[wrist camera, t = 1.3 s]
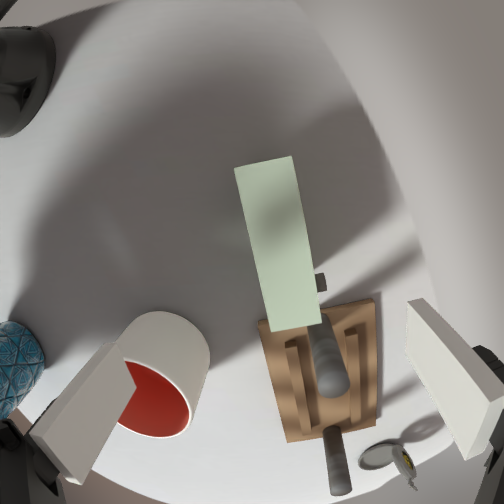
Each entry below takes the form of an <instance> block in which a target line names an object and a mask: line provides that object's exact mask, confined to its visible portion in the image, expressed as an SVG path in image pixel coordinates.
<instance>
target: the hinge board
mask: <svg viewBox="0 0 504 504" xmlns="http://www.w3.org/2000/svg"><path fill="white" fill-rule="evenodd" d="M320 313H321V320H322V323H319V324H314V325H309V326H303V327H298V328H293V329H287V330H281V331H276V332H271V330H270V326H269V321H268V319H266V320H260V321H258V329H259V333H260V338H261V342H262V346H263V350H264V354H265V358H266V362H267V366H268V370H269V374H270V378H271V382H272V385H273V389H274V393H275V397H276V401H277V405H278V409H279V413H280V417H281V421H282V425H283V429H284V432H285V436H286V440H287V443H290V442H297V441H304V440H310V439H316V438H322V437H323V440H324V447H325V455H326V462H327V470H328V477H329V486H330V494H331V495H332V496H343V495H346V494H348V493H350V492H351V491H352V485H351V480H350V475H349V469H348V464H347V459H346V454H345V449H344V444H343V439H342V433H347V432H352V431H356V430H360V429H365V428H369V427H373V426H376V405H377V342H376V318H375V302H374V301H373V299H372V298H371V299H366V300H362V301H357V302H353V303H348V304H344V305H339V306H334V307H329V308H325V309H320Z"/></svg>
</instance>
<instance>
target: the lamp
mask: <svg viewBox="0 0 504 504" xmlns="http://www.w3.org/2000/svg"><path fill="white" fill-rule="evenodd" d="M44 364H45V363H44V356H43V352H42V350H41V347H40V345H39V343H38V342H37V340H36V339H35V337H34V336H33V335H32V333H31V332H30V331H29V330H28V329H27V328H26V327H24V326H23V325H21V324H19V323H17V322H14V321H6V322H2V323H0V420H2V419H6V418H7V417H8V416H9V415H10V414H11V413H12V412H13V411H14V410H15V409H16V407H17V406H18V405H19V404H20V403H21V402H22V400H23V399H24V398H25V397H26V396H27V395H28V393H29V392H30V391H31V390H32V388H33V387H34V386H35V385H36V383H37V382H38V380H39V379H40V377H41V375H42V373H43V371H44Z"/></svg>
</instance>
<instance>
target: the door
mask: <svg viewBox="0 0 504 504" xmlns="http://www.w3.org/2000/svg"><path fill="white" fill-rule="evenodd" d="M234 172H235V177H236V181H237V185H238V190H239V194H240V199H241V203H242V207H243V212H244V216H245V220H246V225H247V229H248V234H249V238H250V242H251V247H252V251H253V255H254V260H255V264H256V269H257V273H258V277H259V282H260V286H261V290H262V295H263V299H264V304H265V308H266V312H267V317H268V321H269V326H270V330H271V332H276V331H281V330H287V329H293V328H298V327H303V326H309V325H314V324H319V323H322V320H321V313H320V307H319V300H318V294H317V293H318V292H323V291H327V285H326V280H325V276H324V273H319V274H314V269H313V263H312V257H311V251H310V246H309V240H308V235H307V229H306V224H305V218H304V213H303V208H302V203H301V198H300V193H299V188H298V183H297V179H296V174H295V169H294V164H293V160H292V156H288V157H283V158H278V159H273V160H268V161H263V162H259V163H254V164H249V165H245V166H240V167H236V168H234Z"/></svg>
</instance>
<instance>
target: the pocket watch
mask: <svg viewBox="0 0 504 504" xmlns="http://www.w3.org/2000/svg"><path fill="white" fill-rule="evenodd" d="M393 461H394V463H395V465H396V467H397V469H398V470H399V472H400V473H401V475H402V476H403V477H404V478H405V479H407V480H408V482H409V483H408V485H409V486H410V488H413V489H414V490H416V491H417V488H416V487H415V486H414V483H413V482H412V480H413V479H414V478H415V477H416V469H415V466H414V464H413V462H412V459H411V458H410V456H409V454H408V453H407V452H406V450H405V449H404V448H403V447H402V446H401V445H399V444H397V445H394V444H380V445H377V446H374V447H372V448H370V449H369V450H367V451H365V452H364V453H363V454H362V455H361V456H360V458H359V460H358V465H359V467H360V468H361V469H363V470H376V469H380V468H383V467H385V466H387V465H389V464H390V463H392V462H393Z"/></svg>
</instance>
